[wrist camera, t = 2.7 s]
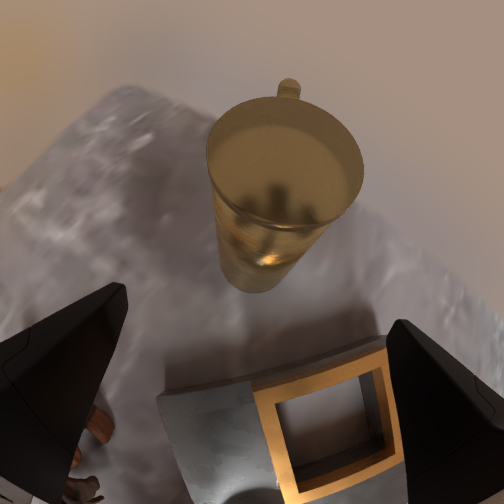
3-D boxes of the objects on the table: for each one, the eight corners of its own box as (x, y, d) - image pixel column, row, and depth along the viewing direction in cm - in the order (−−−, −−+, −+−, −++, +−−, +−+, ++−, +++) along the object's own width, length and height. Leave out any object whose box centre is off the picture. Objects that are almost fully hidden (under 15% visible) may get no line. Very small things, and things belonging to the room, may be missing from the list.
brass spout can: (285, 298, 20) (367, 237, 8) (213, 289, 20) (190, 210, 8) (293, 204, 23) (351, 79, 10) (229, 195, 22) (233, 57, 10)
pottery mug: (151, 446, 17) (111, 526, 9) (101, 462, 19) (66, 517, 11) (39, 329, 16) (-38, 381, 8) (14, 373, 18) (-37, 415, 10)
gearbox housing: (224, 545, 14) (224, 583, 8) (164, 390, 18) (142, 408, 13) (398, 490, 16) (430, 512, 11) (373, 335, 20) (413, 332, 15)
